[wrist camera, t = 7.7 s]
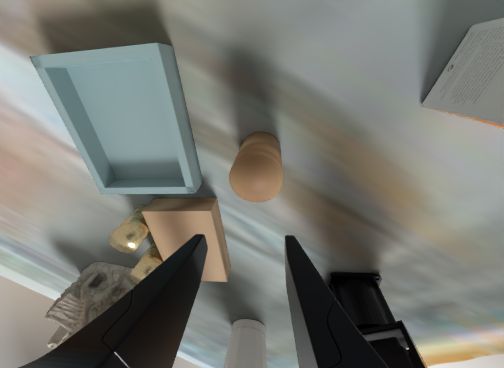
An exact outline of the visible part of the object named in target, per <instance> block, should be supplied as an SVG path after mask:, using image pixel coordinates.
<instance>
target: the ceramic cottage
mask: <svg viewBox="0 0 504 368" xmlns="http://www.w3.org/2000/svg"><path fill="white" fill-rule="evenodd" d="M133 269H134V268H130V267H124V266H119V265H114V264H110V263H106V262H96V263H93V264H91V265H90V266H89V267H88V268H85V269H84V270H83V271H82V273H81V275H80V276H79V278H78V280H77V282H74V283H72V285H71V286H70V287H69V288H67V289H66V290H65V292H64V293H63V294H61V298H58V299H57V300H56V301H55V302H54V304H53V305H52V307H51V308H50V310H49V311H48V312H47V315H46V316H45V318H47V319H48V320H51V321H53V322H55V323H57V324H59V325H61V326H60V327H59V329H58V330H57V331H56V333H55V334H54V335H53V336H52V338H51V339H50V340H49V342H48V344H47V346H48V347H49V348H52V349H53V348H56V347H57V346H58V344H59V343H60V341H61V340H62V343H63V342H64V341H65V340H67V339H68V338H69V337H71V336H72V335H73V334H75V333H76V332H77V331H79V330H80V329H81V328H83V327H84V326H85V325H87V324H88V323H89V322H91V321H92V320H93V319H95V318H96V317H97V316H99V315H100V314H101V313H103V312H104V311H105V310H106V309H108V308H109V307H110V306H111V305H113V304H114V303H115V302H116V301H118V300H119V299H120V298H121V297H122V296H124V295H125V294H126V293H127V292H128V291H129V290H131V289H133V287H134V286H135V285H137V284H136V283H134V282H133V281H132V280H131V278H130V273H131V272H132V270H133Z"/></svg>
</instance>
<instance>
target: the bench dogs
mask: <svg viewBox="0 0 504 368" xmlns="http://www.w3.org/2000/svg"><path fill="white" fill-rule="evenodd" d="M146 206H147V205H141V206H139V207H138V208H137V209H136V210H135V211H134V212H133V213H132V214H131V215H130V216H129V217H128V218H127V219H126V220H125V221H124V222H123V223H122V224H121V225H120V226H119V227H118V228H117V229H116V230H115V231H114V232H113V233H112V234H111V235H110V236H109V242H110V244H111V245H112V247H114V248H115V249H116V250H118V251H120V252H123V253H133V252H134V251H135V250H136V249H137V248H138V247H139V245H140V244H141V243H142V241H143V240H144V239H145V238H146V236H147V235H148V234H149V232H150V230H149V227H148V225H147V223H146V221H145V218H144V216H143V214H142V212H141V211H142V210H143V209H144V208H145V207H146ZM162 262H164V261H163V259H162V257H161V254H160V252H159V250H158V248H157V245H156V243H155V241H153V242H152V244H151V245H150V247H149V248H148V249H147V251H146V252H145V254H144V255H143V256H142V258H141V259H140V261H139V262H138V263H137V265H136V266H135V268H134V269H133V270H132V272H131V273H130V278H131V280H132V281H133V282H134V283H136V284H138V283H139V282H140V281H141V280H142V279H144V278H145V277H146V276H147V275H148V274H149V273H151V272H152V271H153V270H154V269H155V268H157V267H158V266H159V265H160V264H161V263H162Z"/></svg>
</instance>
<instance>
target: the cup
mask: <svg viewBox="0 0 504 368" xmlns="http://www.w3.org/2000/svg"><path fill="white" fill-rule="evenodd" d="M265 338H266V328H265V326H264V325H263V324H262V323H260V322H258V321H255V320H251V319H240V320H237V321H235V322H234V323H233V326H232V332H231V337H230V341H229V346H228V350H227V354H226V359H225V363H224V367H223V368H266V341H265Z"/></svg>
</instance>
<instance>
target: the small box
mask: <svg viewBox="0 0 504 368" xmlns="http://www.w3.org/2000/svg"><path fill="white" fill-rule="evenodd" d="M422 106H423V107H427V108H431V109H435V110H438V111H442V112H446V113H450V114H453V115H457V116H461V117H464V118H468V119H472V120H475V121H479V122H482V123H486V124H489V125H493V126H496V127H500V128H503V129H504V17H503V18H499V19H495V20H491V21H487V22H482V23H478V24H475V25H473V26H471V28H470V29H469V31H468V33H467V34H466V36H465V37H464V39H463V40H462V42H461V44H460V45H459V47H458V48H457V50H456V51H455V53H454V55H453V56H452V58H451V59H450V61H449V62H448V64H447V66H446V67H445V69H444V70H443V72H442V73H441V75H440V77H439V78H438V80H437V81H436V83H435V85H434V86H433V88H432V89H431V91H430V92H429V94H428V96H427V97H426V99H425V100H424V102H423V103H422Z"/></svg>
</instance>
